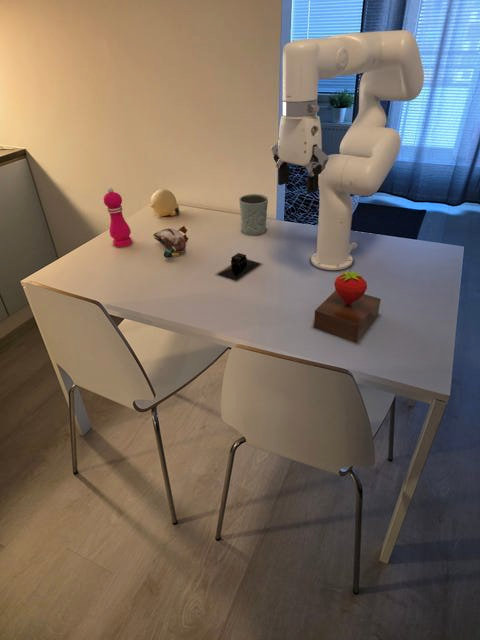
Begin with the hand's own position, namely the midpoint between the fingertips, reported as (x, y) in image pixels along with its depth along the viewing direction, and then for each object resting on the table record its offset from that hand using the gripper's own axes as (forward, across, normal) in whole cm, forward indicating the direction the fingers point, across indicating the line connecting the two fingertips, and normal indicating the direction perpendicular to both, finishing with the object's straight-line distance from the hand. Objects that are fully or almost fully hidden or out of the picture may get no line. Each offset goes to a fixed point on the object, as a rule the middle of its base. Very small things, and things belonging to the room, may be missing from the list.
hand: (297, 187), depth 99 cm
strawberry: (+24, -20, +2) cm, 31 cm away
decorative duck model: (+28, +46, +14) cm, 56 cm away
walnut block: (+28, -20, +2) cm, 35 cm away
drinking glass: (+28, +40, -19) cm, 53 cm away
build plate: (+28, +20, +4) cm, 35 cm away
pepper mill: (+28, +65, +22) cm, 74 cm away
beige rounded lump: (+28, +79, -4) cm, 84 cm away
